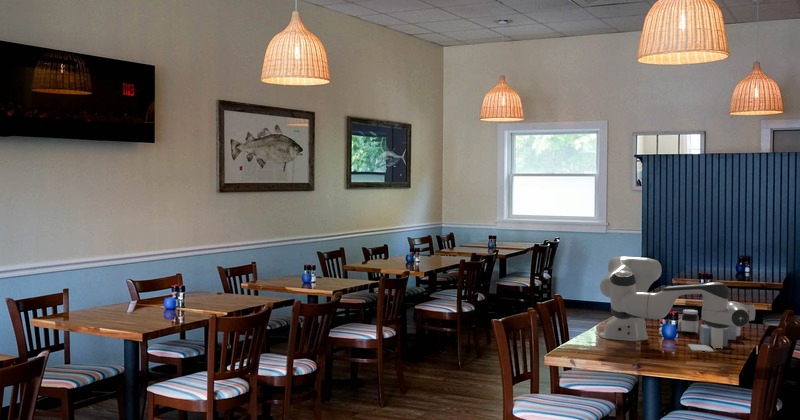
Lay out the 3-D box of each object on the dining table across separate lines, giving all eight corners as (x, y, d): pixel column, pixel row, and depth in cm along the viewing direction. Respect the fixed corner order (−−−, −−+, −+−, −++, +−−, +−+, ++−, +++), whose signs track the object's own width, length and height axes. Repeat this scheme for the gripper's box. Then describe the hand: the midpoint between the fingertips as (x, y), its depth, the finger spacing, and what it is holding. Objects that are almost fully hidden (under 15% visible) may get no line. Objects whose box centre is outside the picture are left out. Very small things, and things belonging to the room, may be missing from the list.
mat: (692, 350, 352) (692, 349, 352) (687, 345, 364) (687, 344, 364) (713, 352, 350) (713, 350, 350) (708, 346, 362) (708, 345, 362)
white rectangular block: (713, 348, 359) (714, 322, 358) (709, 344, 369) (710, 318, 368) (722, 348, 358) (723, 322, 358) (718, 344, 368) (719, 319, 367)
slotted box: (703, 345, 365) (703, 328, 365) (699, 341, 375) (700, 324, 375) (727, 346, 363) (728, 329, 363) (723, 342, 373) (723, 325, 373)
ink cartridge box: (734, 338, 385) (735, 308, 385) (736, 340, 379) (737, 310, 379) (712, 337, 387) (713, 307, 387) (714, 339, 381) (715, 309, 381)
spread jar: (695, 336, 389) (696, 312, 389) (671, 333, 395) (672, 310, 395) (700, 332, 399) (701, 309, 399) (677, 330, 405) (678, 307, 405)
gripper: (706, 318, 336) (701, 313, 349) (758, 320, 332) (751, 315, 345) (706, 303, 336) (701, 299, 349) (758, 305, 331) (751, 300, 345)
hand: (726, 307), depth 347 cm, fingers open, 8 cm apart
